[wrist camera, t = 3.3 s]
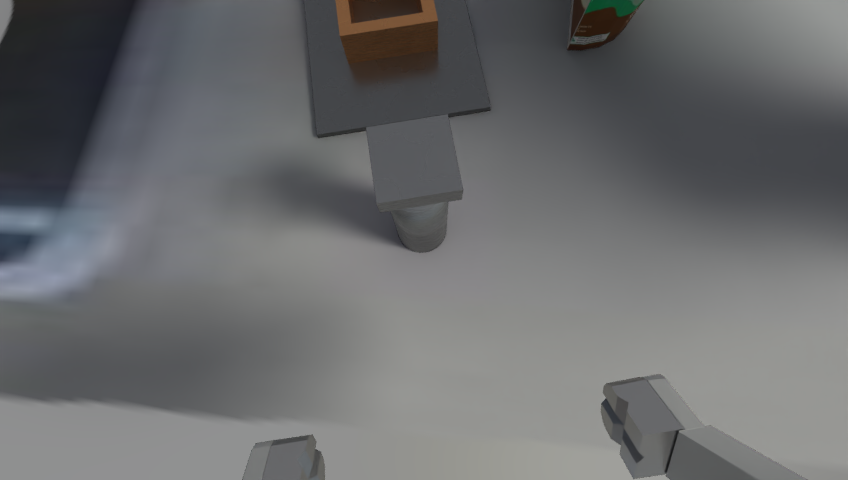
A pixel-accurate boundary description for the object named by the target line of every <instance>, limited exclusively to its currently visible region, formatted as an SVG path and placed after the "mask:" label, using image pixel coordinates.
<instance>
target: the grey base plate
mask: <svg viewBox="0 0 848 480" xmlns="http://www.w3.org/2000/svg"><path fill="white" fill-rule="evenodd" d="M304 7H305V17H306V27H307V38H308V48H309V59H310V69H311V79H312V90H313V100H314V111H315V121H316V132H317V136H318V138H322V137H328V136H334V135H340V134H347V133H353V132H359V131H365V130H366V127H371V126H377V125H383V124H390V123H396V122H402V121H408V120H415V119H421V118H427V117H433V116H440V115H446V114H448V117H453V116H459V115H465V114H471V113H477V112H484V111H490V108H491V106H490V102H489V97H488V93H487V89H486V85H485V81H484V77H483V73H482V68H481V64H480V60H479V56H478V52H477V48H476V44H475V39H474V35H473V31H472V27H471V23H470V19H469V15H468V10H467V6H466V2H465V0H304Z"/></svg>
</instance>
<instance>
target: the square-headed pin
mask: <svg viewBox="0 0 848 480" xmlns="http://www.w3.org/2000/svg"><path fill="white" fill-rule="evenodd" d="M366 131H367V138H368V146H369V153H370V160H371V168H372V175H373V182H374V190H375V197H376V204H377V206H378V209H379V211H380V213H382V212H388V211H391V214H392V217H393V220H394V223H395V226H396V229H397V232H398V235H399V238H400V240H401V242H402V243H403V244H404V245H405V246H406V247H407V248H408V249H410V250H412V251H415V252H419V253H424V252H429V251H432V250H434V249H436V248H437V247H438V246H439V245H440V244H441V243H442V242H443V240H444V238H445V235H446V228H447V214H448V202H449V201H455V200H461V199H462V194H463V187H462V182H461V177H460V172H459V167H458V162H457V157H456V152H455V147H454V143H453V138H452V133H451V128H450V123H449V118H448V114H446V115H440V116H433V117H427V118H421V119H415V120H408V121H402V122H396V123H390V124H383V125H377V126H371V127H366Z"/></svg>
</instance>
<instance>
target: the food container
mask: <svg viewBox="0 0 848 480" xmlns="http://www.w3.org/2000/svg"><path fill="white" fill-rule="evenodd" d="M643 1H644V0H572V1H571V12H570V23H569V34H568V45H567V50H580V51H581V50H587V49H592V48H597V47H600V46H602V45H604V44H606V43H608V42H610V41H612V40H614V39H615V38H616V37H617V36H618V35H619V34H620V33H621V32H622V30H623V29H624V28H625V27H626V25H627V24H628V22H629V21H630V19H631V18H632V17H633V15H634V14H635V12H636V11H637V9H638V8H639V6H640V5H641V4H642V2H643Z"/></svg>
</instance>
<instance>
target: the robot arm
mask: <svg viewBox="0 0 848 480" xmlns="http://www.w3.org/2000/svg"><path fill="white" fill-rule="evenodd" d="M603 394H604V395H605V397H606V399H605V400H604V401H603V402H602V403H601V415H602V420H603V423H604V426H605V428H606V430H607V432H608V434H609V436H610V438H611V439H612V440H614V441H615V442H617V443H618V444H620V445H621V449H620V456H621V458H622V459H623V461H624V463H625V465H626V467H627V468H628V470H629V472H630V474H631V475H632V477H633V479H637V478H644V477H651V476H658V475H664V474H666V477H668V478H669V479H670V480H807V479H805V478H804V477H802V476H800V475H798V474H797V473H795V472H793V471H791V470H789V469H788V468H786V467H784V466H782V465H781V464H779V463H777V462H775V461H773V460H772V459H770V458H768V457H766V456H765V455H763V454H761V453H759V452H757V451H756V450H754V449H752V448H750V447H749V446H747V445H745V444H743V443H741V442H740V441H738V440H736V439H734V438H732V437H731V436H729V435H727V434H725V433H724V432H722V431H720V430H718V429H716V428H715V427H713V426H711V425H709V426H705V425H704V424H703V423H702V422H701V421H700V419H699V418H698V417H697V416H696V414H695V413H694V412H693V411H692V409H691V408H690V407H689V406H688V405H687V403H686V402H685V401H684V400H683V398H682V397H681V396H680V395H679V394H678V392H677V391H676V390H675V389H674V387H673V386H672V385H671V384H670V383H669V381H668V380H667V379H666V378H665V377H664V376H663V375H661V374H656V375H651V376H646V377H637V378H632V379H626V380H621V381H616V382H610V383H606V384H605V385H604V388H603ZM315 447H316V440H315V438H314V436H313V435H306V436H299V437H293V438H287V439H279V440H273V441H267V442H260V443H256V444H255V446H254V447H253V449H252V450H251V454H250V457H249V460H248V463H247V466H246V470H245V473H244V476H243V479H242V480H325V464H324V459H323V456H322V454H321V452H320V451H318V450H316V449H315Z"/></svg>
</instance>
